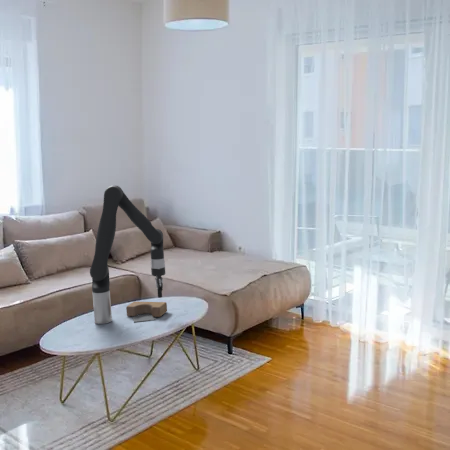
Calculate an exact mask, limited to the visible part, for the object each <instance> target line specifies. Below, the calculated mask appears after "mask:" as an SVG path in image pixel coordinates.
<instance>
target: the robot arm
mask: <svg viewBox="0 0 450 450" xmlns="http://www.w3.org/2000/svg"><path fill="white" fill-rule="evenodd" d="M118 208H120V209H121V210H122V211H123V212H124V213H125V214H126V216H127V217H128V218H129V220H130V221H131V222H132V223H133V224H134V225H135V226H136V227H137V228H138V229H139V231H141V232H142V234H143V235H144V236H145V238H146V239H147V240H148V241H149V242H150V271H151V272H150V273H151V276H152V277H155V278H154V281H155V288H156V291H157V297H158V298H162V297H163V287H164V285H163V284H164V283H163V282H164V279H163V277H162V276H165V275H166V263H165V262H166V261H165V253H164V252H165V251H164V234H163V233H164V232H163V231H162V230H161V229H159V228H155V227H154V225H153V224H152V222H151V221H150V219H148V217H147V216H146V215H145V214H143V213H142V211H140V209H138V208H137V207H136V206H135V204H133V203H132V201H131V200H130V199H129V198H128V196H127V194H125V192H124V191H123V189H122V188H121V187H120V186H119V185H115V184H114V185H110V186H108V187H107V188H106V189H105V191H104V192H103V205H102V213H101V216H100V218H99V223H98V227H97V231H96V238H95V248H94V256H93V260H92V263H91V266H90V269H89V274H90V277H91V283H92V285H91V293H92V303H93V305H92V306H93V316H94V324H95V325H96V324H98V325H104V324H105V325H106V324H108V323H111V322H112V321H113V316H112V304H111V303H112V302H111V292H110V291H111V288H110V285H111V283H110V282H111V281H110V270H109V266H108V261H109V256H110V252H111V249H112V246H113V244H114V241H115V236H116V229H117V214H118V213H117V212H118Z"/></svg>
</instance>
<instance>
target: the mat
mask: <svg viewBox="0 0 450 450" xmlns="http://www.w3.org/2000/svg"><path fill="white" fill-rule="evenodd" d="M132 319H133V323H134V324H135V323H142V322H143V323H144V322H151V321H157V317H153V316H152V314H139V315H136V316H132Z"/></svg>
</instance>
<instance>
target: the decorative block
mask: <svg viewBox="0 0 450 450" xmlns="http://www.w3.org/2000/svg"><path fill="white" fill-rule="evenodd" d="M125 308H126V309H125V310H126V316H127V317H133V316H136V315H142V314H152V316H153V317H156V318H159V317H160V318H161V317H162V316H163V315H164V314H165V313H167V312H168V304H167V302H166V301H133V302H131V303H130V304H128V305H127V306H126V307H125Z"/></svg>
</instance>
